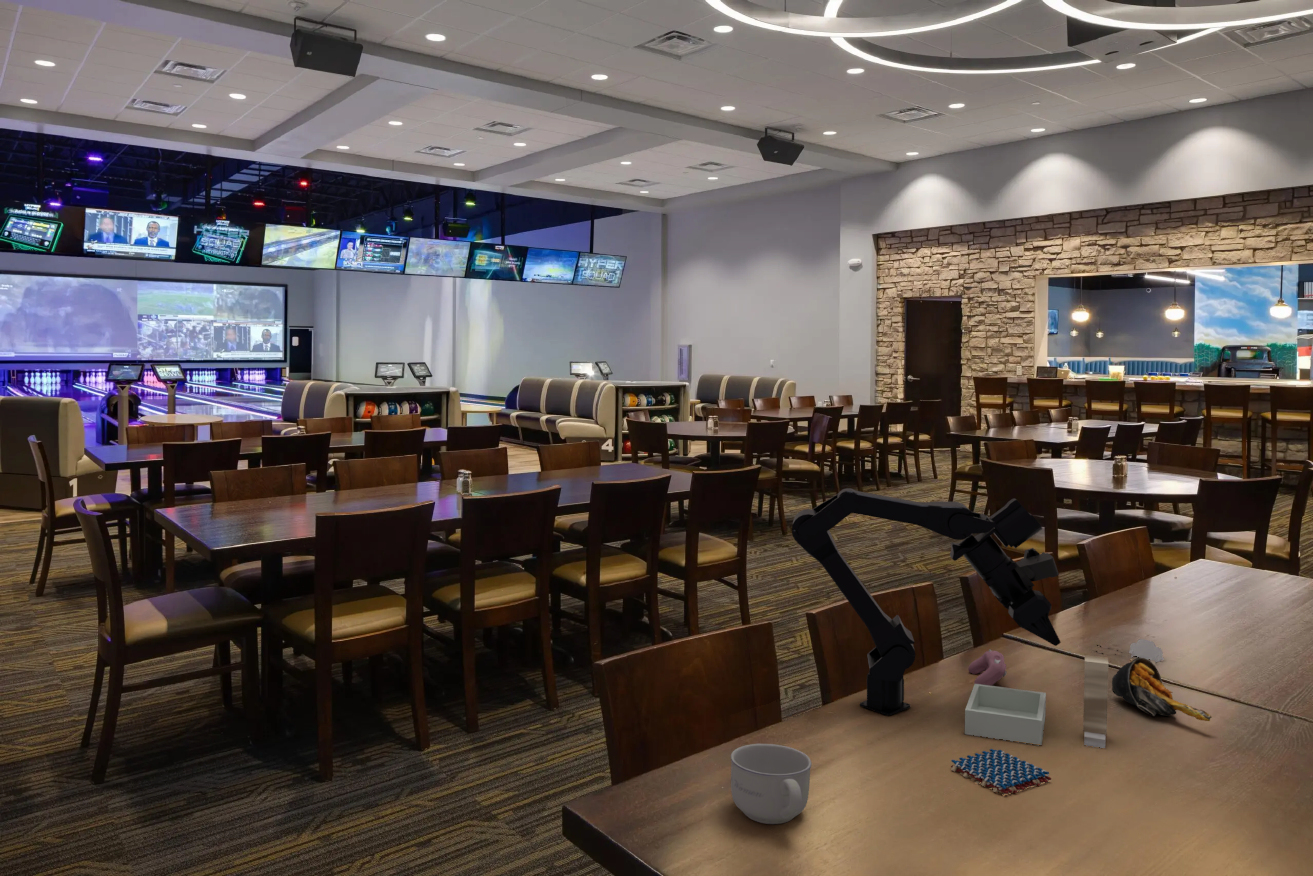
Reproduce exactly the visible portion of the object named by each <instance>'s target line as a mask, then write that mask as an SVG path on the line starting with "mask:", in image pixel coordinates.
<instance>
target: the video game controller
mask: <svg viewBox="0 0 1313 876" xmlns="http://www.w3.org/2000/svg"><path fill="white" fill-rule="evenodd" d="M1006 669H1007V664H1006V663H1005V657H1004V655H1003V653H1001V652H999V651H997V650H991V649H990V648H989V650H986V651H985V652H984V653H983V654H982V655H981V656H980V657H978V658H976V659H975V660H973V661H972V662H971V663H970V664H969V665H968V672H969V673H970V674H971V673H972V675H977V674H979V675H978V676H977V677H976V678H975V679H974V683H973V684H981V685H989V686H995V684H996V683H997V682H998V681H999V680H1001V679H1002V678H1005V677H1006V676H1007V674H1008V673H1007V670H1006Z"/></svg>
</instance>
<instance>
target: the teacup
mask: <svg viewBox="0 0 1313 876" xmlns="http://www.w3.org/2000/svg"><path fill="white" fill-rule="evenodd" d="M730 761H731V765H730V767H731V768H730V790H731V791H730V792H731V796H732V800H733V803H734V805H736V807H737V808H738V809H739V810H740V811H741V812H742V813H743V814H744V815H745V816H746V817H748V819H750V820H753V821H755V822H757V823H761V824H767V825H780V824H781V825H782V824H785V823H788V822H790V821H792V820H793V819H794V818H795V817H797V816H799V814H801V813H802V812H803V811H804V809H805V808H806V807H807V804H808V800H809V795H810V794H809V791H810V780H811V779H810V778H811V768H812V760H811V758H810V756H809V755H807V754H806V753H805V752H802V751H801V750H798V749H796V748H793V747H791V746H790V747H789V746H786V745H781V744H774V743H751V744H746V745H741V746H739V747H738V748H737V747H736V749H734V750H733V751H732V752H731V754H730Z"/></svg>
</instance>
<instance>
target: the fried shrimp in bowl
mask: <svg viewBox="0 0 1313 876" xmlns="http://www.w3.org/2000/svg"><path fill="white" fill-rule="evenodd" d="M1111 690H1112V693H1113V694H1115V696H1117V697H1120V698H1122V699H1123V700H1124V701H1125V702H1127V703H1129V704H1131V705H1133V706H1136V707H1137V708H1138V709H1140V710H1141V711H1143V712H1144V713H1146V714H1147V715H1150V716H1151V717H1155V716H1156V715H1160V716H1166V717H1168V716H1172V715H1177V711H1179V712H1182V713H1183V714H1185V715H1187V716H1189V717H1192V718H1195V719H1196V720H1198V721H1205V722H1210V721H1211V718H1212V715H1211V714H1209V713H1208V712H1206V711H1205V710H1203V709H1198V708H1195V707H1192V706H1191V705H1188V704H1186V703H1184V702H1183V703H1182V702H1179V701H1178V700H1174V699H1173V698H1174V697H1173V691H1171V690H1170V689H1168V688H1166V687H1165V686H1164V684H1163V681H1162V677H1161V675H1160V673H1159V670H1158V668H1157V667H1156V666H1155V664H1153V662H1151V660H1148V659H1145V658H1138V657H1135V658H1134V659H1132V661H1131V662H1127V663H1126V664H1124V665H1122V667H1120V669H1118V670H1117V672H1116V674H1114V675H1113V676H1112V678H1111Z"/></svg>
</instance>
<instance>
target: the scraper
mask: <svg viewBox="0 0 1313 876" xmlns="http://www.w3.org/2000/svg"><path fill="white" fill-rule="evenodd" d="M1083 672H1084V678H1083V679H1084V680H1083V724H1082V731H1083V732H1084V735H1083V736H1084V740H1083V741H1084V742H1083V743H1084V745H1087V746H1086V747H1088V746H1093V747H1092V748H1094V747H1100V748H1099V749H1101V748H1105V749H1106V740H1107V739H1106V735H1108V701H1109V699H1108V698H1109V697H1108V696H1109V693H1108V692H1109V657H1105V656H1097V655H1088V654H1085V655H1084V671H1083ZM1084 745H1083V746H1084Z"/></svg>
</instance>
